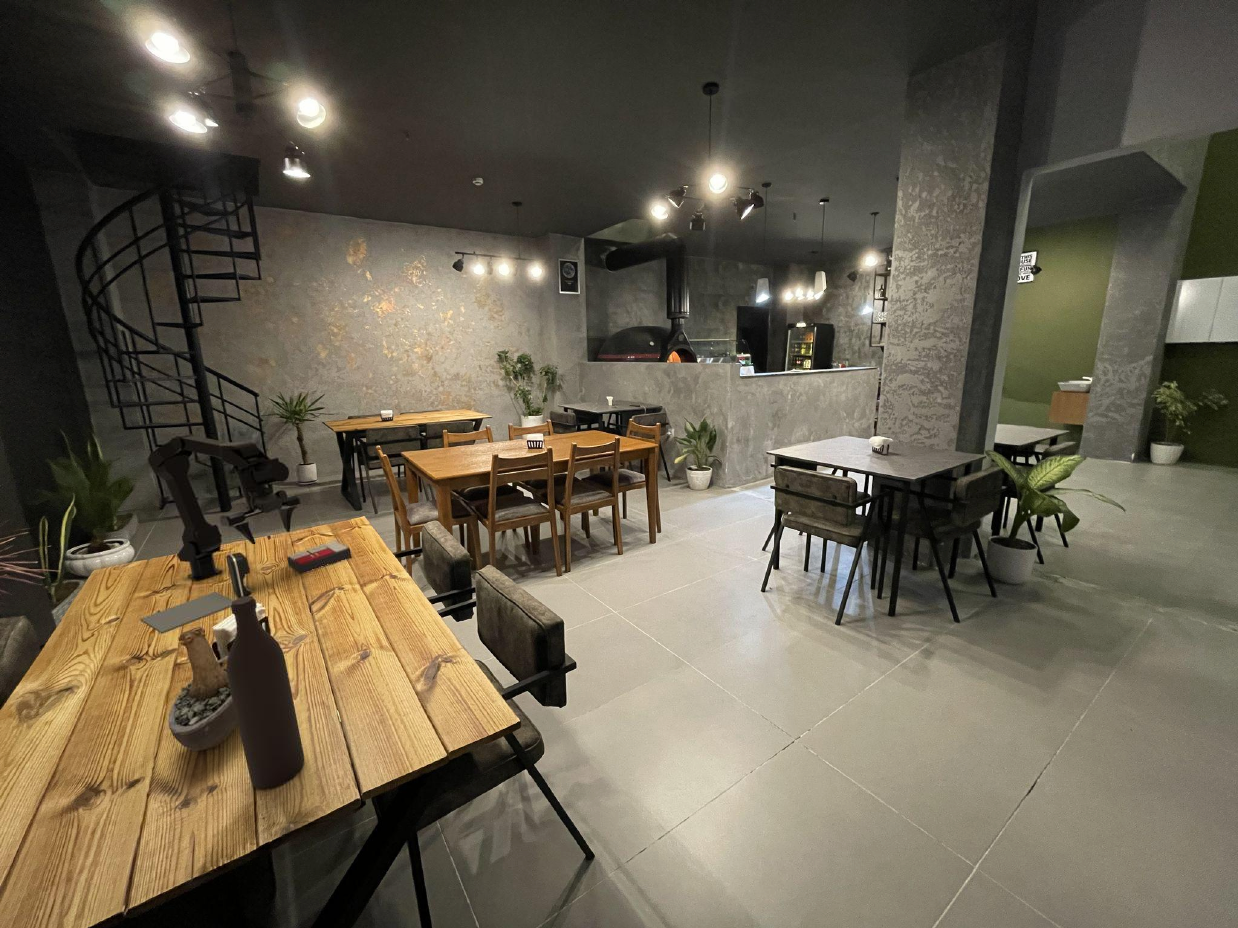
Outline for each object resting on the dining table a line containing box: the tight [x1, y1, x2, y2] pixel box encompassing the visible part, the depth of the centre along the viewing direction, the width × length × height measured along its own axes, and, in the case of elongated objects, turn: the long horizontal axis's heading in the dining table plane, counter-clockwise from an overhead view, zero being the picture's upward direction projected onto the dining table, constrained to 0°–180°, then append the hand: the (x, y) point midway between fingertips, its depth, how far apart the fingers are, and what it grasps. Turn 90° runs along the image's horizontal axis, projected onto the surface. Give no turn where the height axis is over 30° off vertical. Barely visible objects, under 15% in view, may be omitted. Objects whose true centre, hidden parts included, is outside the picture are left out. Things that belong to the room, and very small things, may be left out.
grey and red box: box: [286, 540, 353, 575], centre depth 158 cm, size 11×4×15 cm
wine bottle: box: [226, 595, 305, 791], centre depth 74 cm, size 7×7×30 cm
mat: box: [140, 591, 235, 634], centre depth 128 cm, size 13×16×1 cm
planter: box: [167, 626, 238, 751], centre depth 85 cm, size 15×17×20 cm
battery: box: [225, 552, 252, 598], centre depth 137 cm, size 7×4×11 cm, turn 48°
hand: (271, 537), depth 142 cm, fingers open, 9 cm apart
